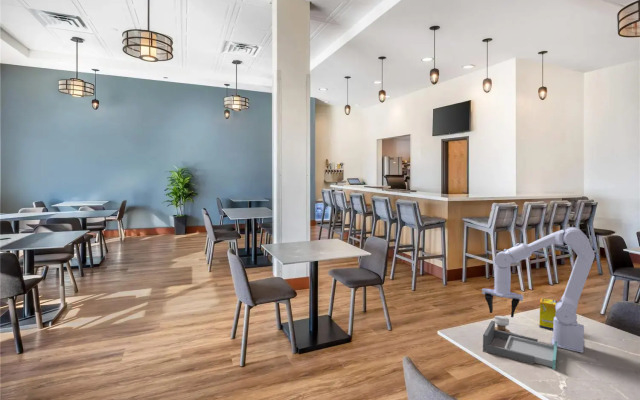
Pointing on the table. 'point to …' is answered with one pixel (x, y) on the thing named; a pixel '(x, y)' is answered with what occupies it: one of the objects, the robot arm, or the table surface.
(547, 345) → the tray
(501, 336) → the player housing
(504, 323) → the white round dome
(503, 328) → the disc stand
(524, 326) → the table surface
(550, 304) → the supplement box
